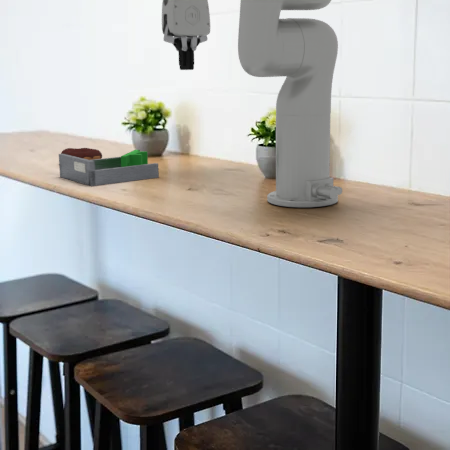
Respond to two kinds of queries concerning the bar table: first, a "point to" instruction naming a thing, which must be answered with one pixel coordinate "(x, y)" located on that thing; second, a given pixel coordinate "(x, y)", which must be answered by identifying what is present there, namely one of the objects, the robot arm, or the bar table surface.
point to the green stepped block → (134, 158)
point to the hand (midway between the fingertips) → (186, 69)
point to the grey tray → (103, 170)
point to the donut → (83, 153)
